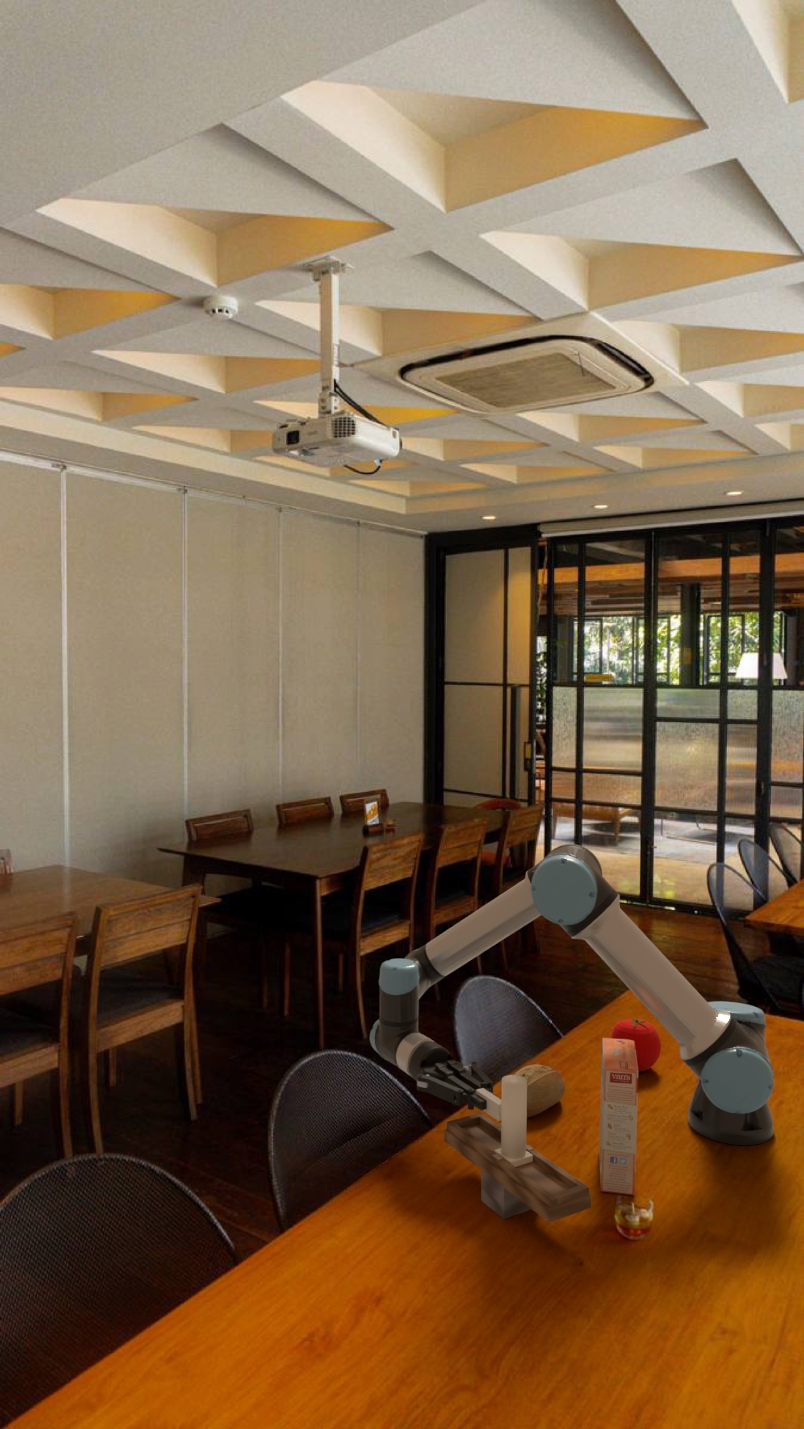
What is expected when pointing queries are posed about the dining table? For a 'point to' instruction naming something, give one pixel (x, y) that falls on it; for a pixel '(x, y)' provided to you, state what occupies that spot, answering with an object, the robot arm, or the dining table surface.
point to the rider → (514, 1121)
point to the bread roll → (542, 1087)
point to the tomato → (640, 1040)
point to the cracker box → (618, 1116)
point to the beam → (515, 1174)
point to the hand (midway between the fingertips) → (502, 1112)
